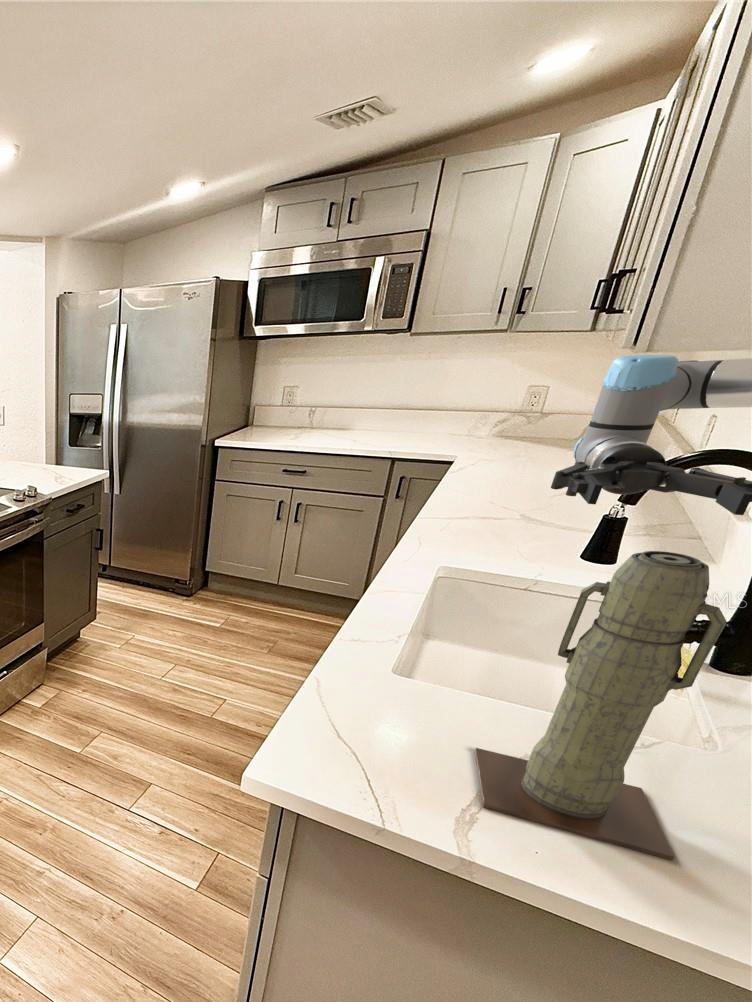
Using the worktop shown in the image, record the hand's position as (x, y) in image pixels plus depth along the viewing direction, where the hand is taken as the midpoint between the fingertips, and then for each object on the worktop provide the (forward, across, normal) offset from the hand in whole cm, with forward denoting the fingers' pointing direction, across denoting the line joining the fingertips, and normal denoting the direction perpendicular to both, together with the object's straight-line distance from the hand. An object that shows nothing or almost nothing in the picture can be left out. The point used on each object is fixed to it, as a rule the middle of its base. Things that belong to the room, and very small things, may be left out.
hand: (666, 499), depth 81 cm
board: (+19, +3, -38) cm, 42 cm away
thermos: (+19, +3, -38) cm, 42 cm away
